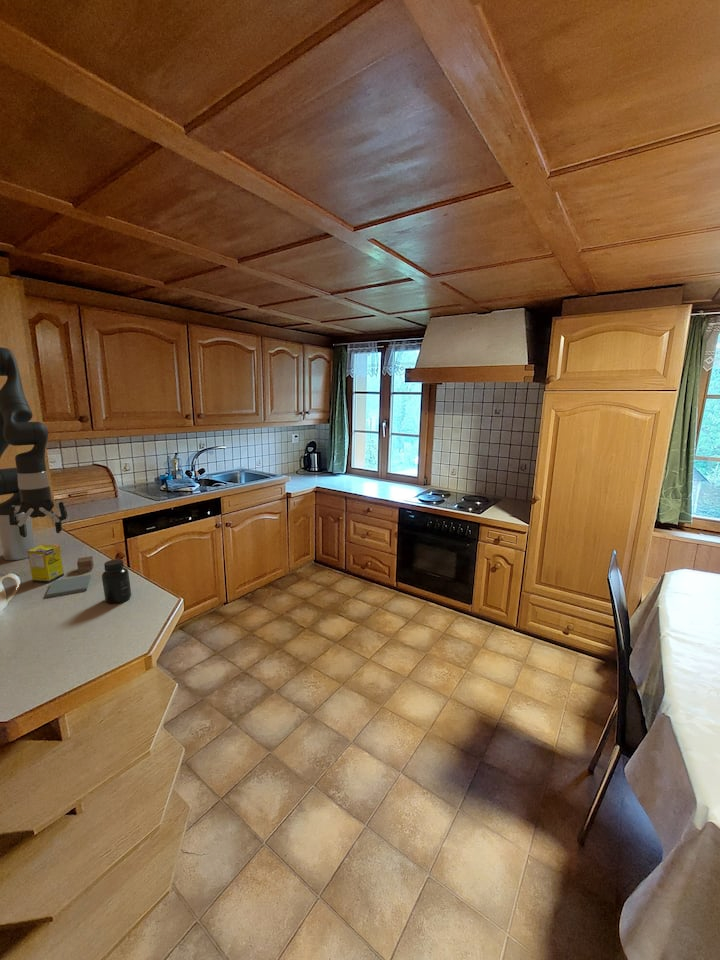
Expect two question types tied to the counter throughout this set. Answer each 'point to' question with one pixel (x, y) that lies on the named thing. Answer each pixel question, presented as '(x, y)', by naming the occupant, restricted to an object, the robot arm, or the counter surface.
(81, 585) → the pad
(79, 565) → the walnut block
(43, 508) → the robot arm
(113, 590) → the supplement bottle
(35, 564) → the supplement box
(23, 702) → the counter surface
